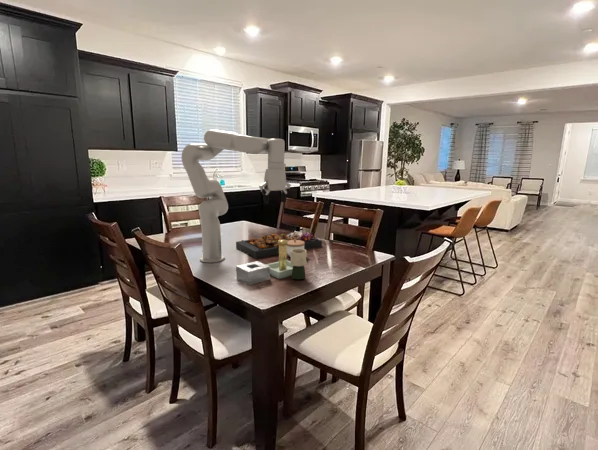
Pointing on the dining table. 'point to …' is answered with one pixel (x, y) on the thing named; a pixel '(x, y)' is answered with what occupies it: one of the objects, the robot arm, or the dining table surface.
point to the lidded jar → (294, 245)
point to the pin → (282, 254)
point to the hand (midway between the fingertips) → (274, 202)
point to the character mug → (298, 263)
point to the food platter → (274, 243)
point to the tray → (280, 274)
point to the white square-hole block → (253, 272)
